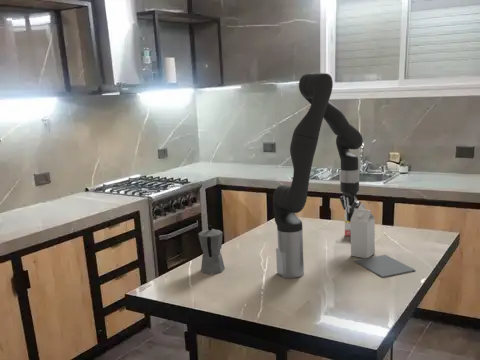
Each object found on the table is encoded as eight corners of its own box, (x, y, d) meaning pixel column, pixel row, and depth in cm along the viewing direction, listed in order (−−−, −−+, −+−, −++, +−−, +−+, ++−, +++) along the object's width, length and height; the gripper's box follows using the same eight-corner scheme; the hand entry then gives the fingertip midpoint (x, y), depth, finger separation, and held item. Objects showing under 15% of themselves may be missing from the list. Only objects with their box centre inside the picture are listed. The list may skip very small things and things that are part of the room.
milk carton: (358, 250, 195) (358, 206, 191) (374, 253, 190) (374, 208, 187) (350, 255, 189) (350, 210, 186) (367, 259, 185) (367, 212, 181)
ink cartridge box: (344, 236, 215) (343, 204, 212) (348, 233, 219) (347, 202, 216) (362, 238, 210) (362, 206, 207) (366, 235, 214) (366, 203, 212)
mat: (382, 277, 166) (382, 276, 166) (354, 261, 183) (354, 260, 183) (415, 271, 170) (415, 269, 170) (385, 255, 187) (385, 254, 187)
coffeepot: (202, 264, 189) (199, 221, 186) (225, 263, 189) (222, 220, 186) (198, 279, 174) (195, 232, 171) (224, 278, 174) (221, 231, 171)
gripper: (333, 178, 198) (334, 218, 201) (350, 183, 185) (350, 226, 189) (348, 176, 200) (349, 216, 203) (366, 181, 188) (367, 223, 191)
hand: (350, 220), depth 196 cm, fingers closed
